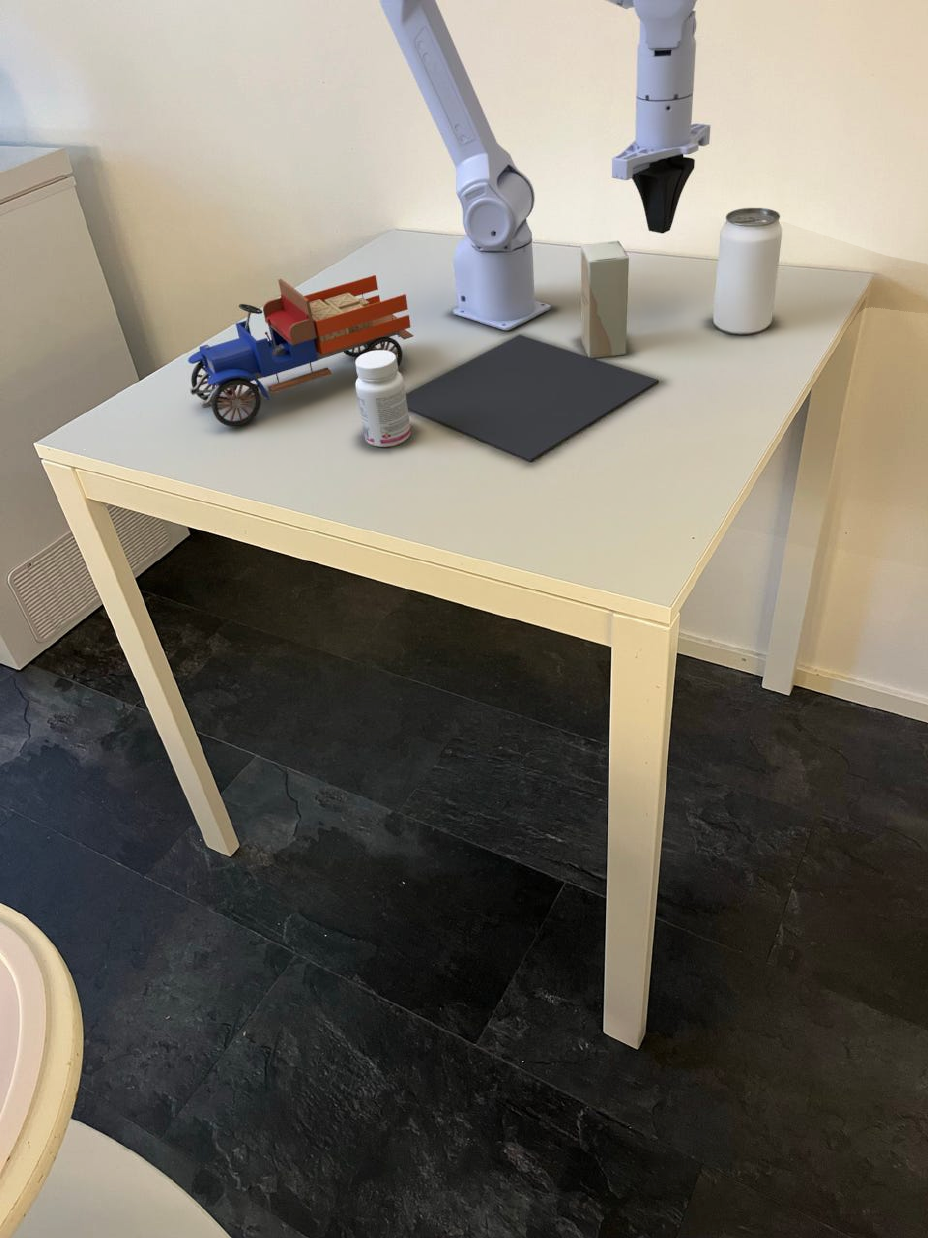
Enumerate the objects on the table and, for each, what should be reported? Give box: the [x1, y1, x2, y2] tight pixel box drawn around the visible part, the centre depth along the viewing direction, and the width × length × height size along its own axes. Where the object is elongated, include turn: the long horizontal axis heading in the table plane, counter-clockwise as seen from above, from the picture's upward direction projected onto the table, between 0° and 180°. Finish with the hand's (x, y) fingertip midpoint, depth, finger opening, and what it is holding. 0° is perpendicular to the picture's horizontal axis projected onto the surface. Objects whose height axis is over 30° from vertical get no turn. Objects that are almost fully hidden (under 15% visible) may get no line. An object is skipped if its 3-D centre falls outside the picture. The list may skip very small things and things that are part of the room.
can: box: [712, 207, 783, 335], centre depth 106 cm, size 6×6×12 cm
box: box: [580, 240, 630, 359], centre depth 105 cm, size 5×4×11 cm
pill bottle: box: [354, 349, 412, 448], centre depth 95 cm, size 5×5×8 cm
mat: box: [406, 334, 660, 463], centre depth 102 cm, size 20×20×1 cm
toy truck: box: [187, 274, 414, 428], centre depth 104 cm, size 8×25×11 cm, turn 120°
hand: (659, 230), depth 107 cm, fingers closed
